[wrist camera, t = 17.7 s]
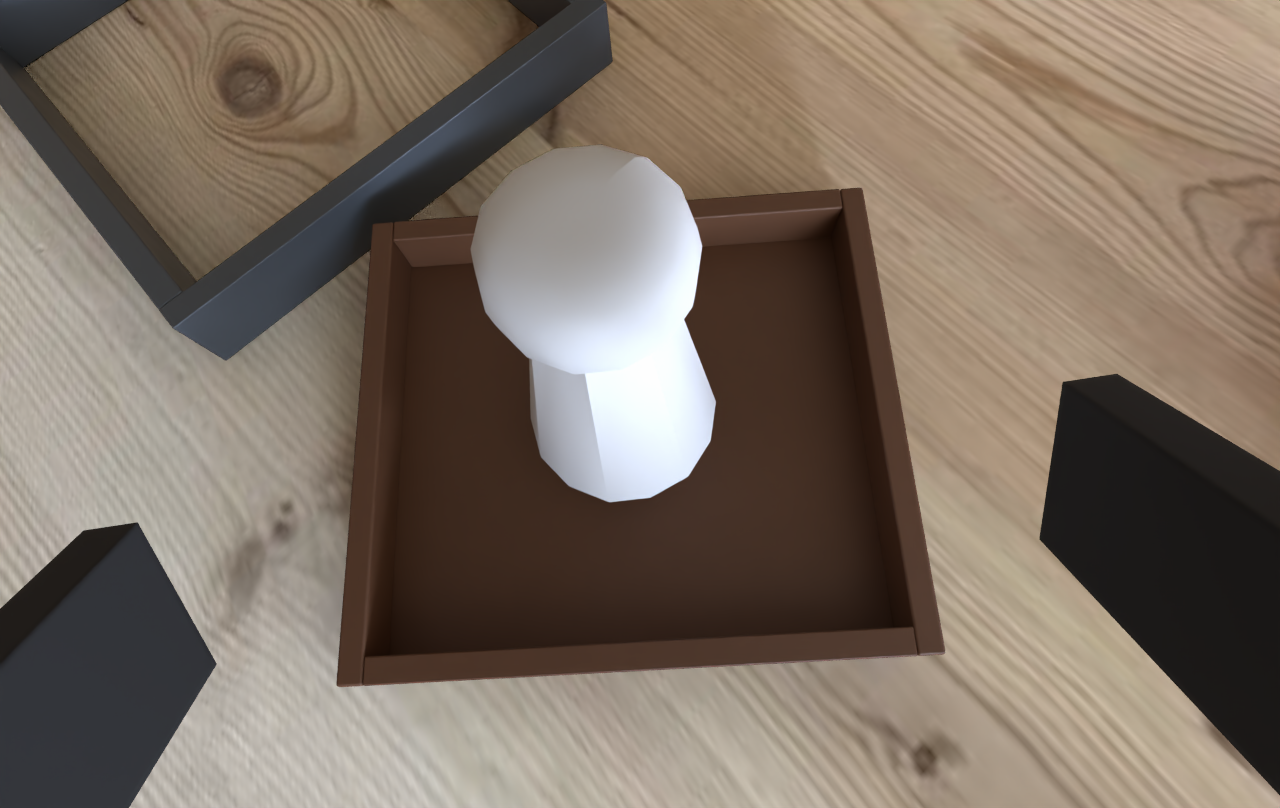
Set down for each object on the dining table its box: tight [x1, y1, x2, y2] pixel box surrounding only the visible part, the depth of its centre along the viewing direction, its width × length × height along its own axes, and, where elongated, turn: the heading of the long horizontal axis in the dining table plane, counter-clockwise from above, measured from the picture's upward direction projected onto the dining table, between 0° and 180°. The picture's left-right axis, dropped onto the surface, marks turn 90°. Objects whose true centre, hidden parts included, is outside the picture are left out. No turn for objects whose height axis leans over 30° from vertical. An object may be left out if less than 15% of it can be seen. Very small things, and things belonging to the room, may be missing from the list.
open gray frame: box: [0, 0, 613, 360], centre depth 30 cm, size 20×20×3 cm
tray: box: [337, 188, 945, 687], centre depth 24 cm, size 18×16×3 cm
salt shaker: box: [471, 144, 716, 502], centre depth 18 cm, size 6×6×13 cm
